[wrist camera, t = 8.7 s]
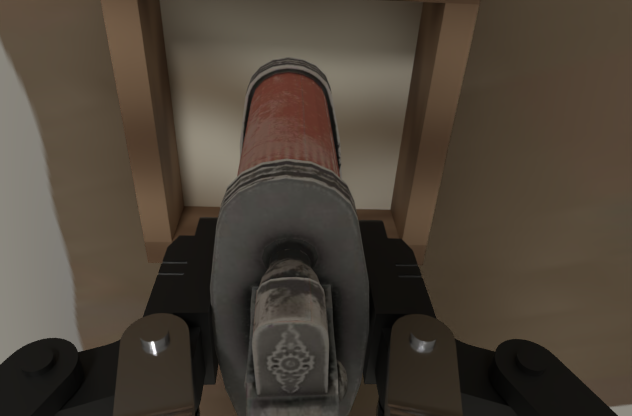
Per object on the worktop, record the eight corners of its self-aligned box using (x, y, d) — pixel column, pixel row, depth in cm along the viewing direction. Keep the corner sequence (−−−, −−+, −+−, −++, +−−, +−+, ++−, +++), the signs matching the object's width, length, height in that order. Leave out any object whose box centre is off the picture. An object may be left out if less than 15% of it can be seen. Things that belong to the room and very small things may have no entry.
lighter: (231, 57, 14) (150, 279, 6) (343, 56, 15) (417, 272, 6) (250, 265, 19) (218, 560, 10) (336, 262, 19) (373, 553, 11)
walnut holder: (123, -62, 18) (90, -54, 15) (457, -45, 19) (487, -35, 16) (165, 219, 25) (148, 262, 22) (407, 223, 26) (422, 265, 23)
